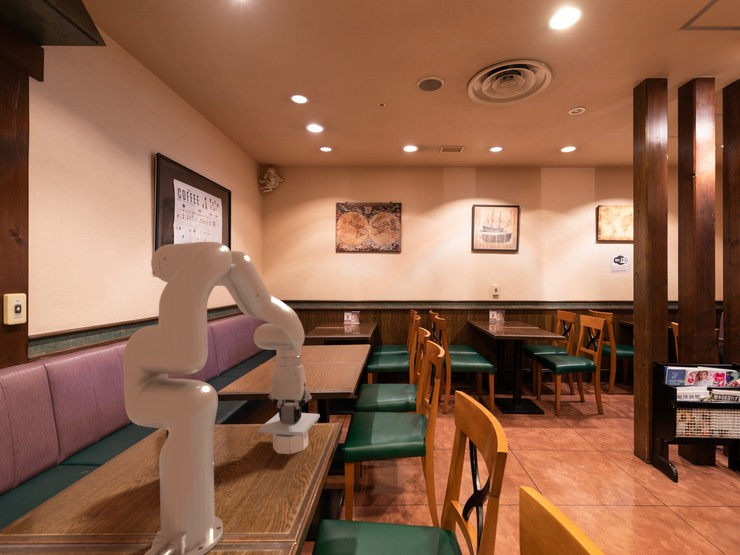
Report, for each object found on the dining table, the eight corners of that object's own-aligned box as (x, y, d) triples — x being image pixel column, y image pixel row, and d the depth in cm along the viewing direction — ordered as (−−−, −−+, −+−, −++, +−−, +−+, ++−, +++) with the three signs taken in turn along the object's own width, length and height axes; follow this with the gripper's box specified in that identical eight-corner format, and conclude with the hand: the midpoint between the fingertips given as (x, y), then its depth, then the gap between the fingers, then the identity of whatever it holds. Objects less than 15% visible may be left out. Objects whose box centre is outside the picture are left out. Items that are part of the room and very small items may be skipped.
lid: (302, 435, 101) (302, 414, 101) (258, 432, 104) (257, 412, 104) (319, 417, 115) (319, 398, 115) (279, 414, 118) (279, 396, 118)
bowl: (299, 455, 104) (299, 438, 104) (268, 452, 106) (267, 435, 106) (312, 439, 114) (311, 424, 114) (283, 437, 116) (282, 422, 116)
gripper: (258, 363, 108) (259, 423, 108) (310, 364, 104) (311, 426, 104) (270, 357, 115) (271, 414, 115) (318, 359, 112) (320, 417, 112)
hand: (290, 419), depth 110 cm, fingers closed on lid, 4 cm apart
